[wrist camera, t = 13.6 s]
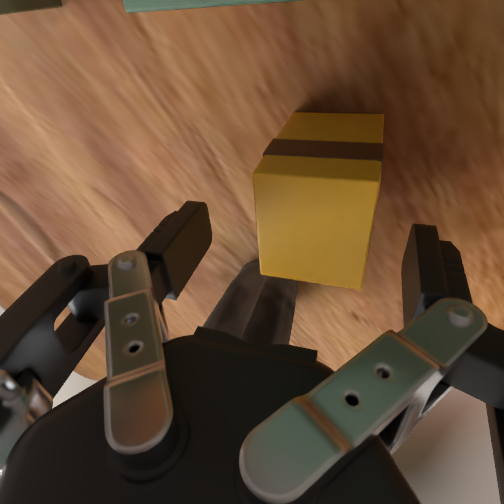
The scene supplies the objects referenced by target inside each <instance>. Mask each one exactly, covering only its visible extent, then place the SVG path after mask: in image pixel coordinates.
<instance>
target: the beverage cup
mask: <svg viewBox="0 0 504 504" xmlns="http://www.w3.org/2000/svg"><path fill="white" fill-rule="evenodd" d="M296 294H297V284H296V281H295V280H293V279H286V278H280V277H274V276H267V275H262V274H261V273H260V262H259V261H253V262H250V263H247V264H246V265H245V266H244V267H243V268H242V269H241V271H240V273H239V274H238V275H237V277H236V278H235V279H234V280H233V281H232V282H231V284H230V286H229V287H228V289H227V290H226V292H225V293H224V295H223V296H222V298H221V299H220V301H219V302H218V304H217V305H216V307H215V308H214V310H213V312H212V313H211V315H210V316H209V318H208V319H207V321H206V322H205V324H204V325H203V327H205V328H209V329H214V330H219V331H224V332H227V333H229V334H231V335H233V336H235V337H237V338H239V339H241V340H244V341H246V342H248V343H250V344H253V345H267V344H287V345H289V341H290V335H291V329H292V323H293V317H294V311H295V303H296V302H295V298H296Z"/></svg>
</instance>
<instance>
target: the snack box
mask: <svg viewBox="0 0 504 504" xmlns="http://www.w3.org/2000/svg"><path fill="white" fill-rule="evenodd" d="M383 130H384V114H357V113H304V112H294V113H293V114H292V115H291V117H290V118H289V120H288V121H287V123H286V124H285V126H284V127H283V129H282V130H281V132H280V133H279V135H278V136H277V137H276V139H273V140H272V141H271V143H270V144H269V146H268V147H267V148H266V150H265V151H264V153H263V158H262V160H261V161H260V163H259V164H258V166H257V167H256V168H255V170H254V171H253V186H254V198H255V211H256V224H257V236H258V249H259V262H260V273H261V274H262V275H267V276H274V277H280V278H286V279H293V280H299V281H305V282H312V283H318V284H324V285H331V286H337V287H344V288H350V289H356V290H361V289H362V286H363V280H364V274H365V269H366V263H367V257H368V252H369V246H370V240H371V234H372V229H373V223H374V217H375V211H376V206H377V200H378V194H379V189H380V183H381V172H382V166H383V161H384V143H383Z"/></svg>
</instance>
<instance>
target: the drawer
mask: <svg viewBox="0 0 504 504" xmlns="http://www.w3.org/2000/svg"><path fill="white" fill-rule="evenodd" d="M62 6H63V4H62V1H61V0H0V15H2V14H10V13H18V12H26V11H34V10H42V9H50V8H58V7H62Z"/></svg>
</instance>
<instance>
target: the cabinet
mask: <svg viewBox="0 0 504 504" xmlns="http://www.w3.org/2000/svg"><path fill="white" fill-rule="evenodd" d="M288 1H302V0H123V4H124V8H125V10H126V12H128V13H135V12H149V11H163V10H177V9H191V8H205V7H219V6H233V5H247V4H260V3H274V2H288Z"/></svg>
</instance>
